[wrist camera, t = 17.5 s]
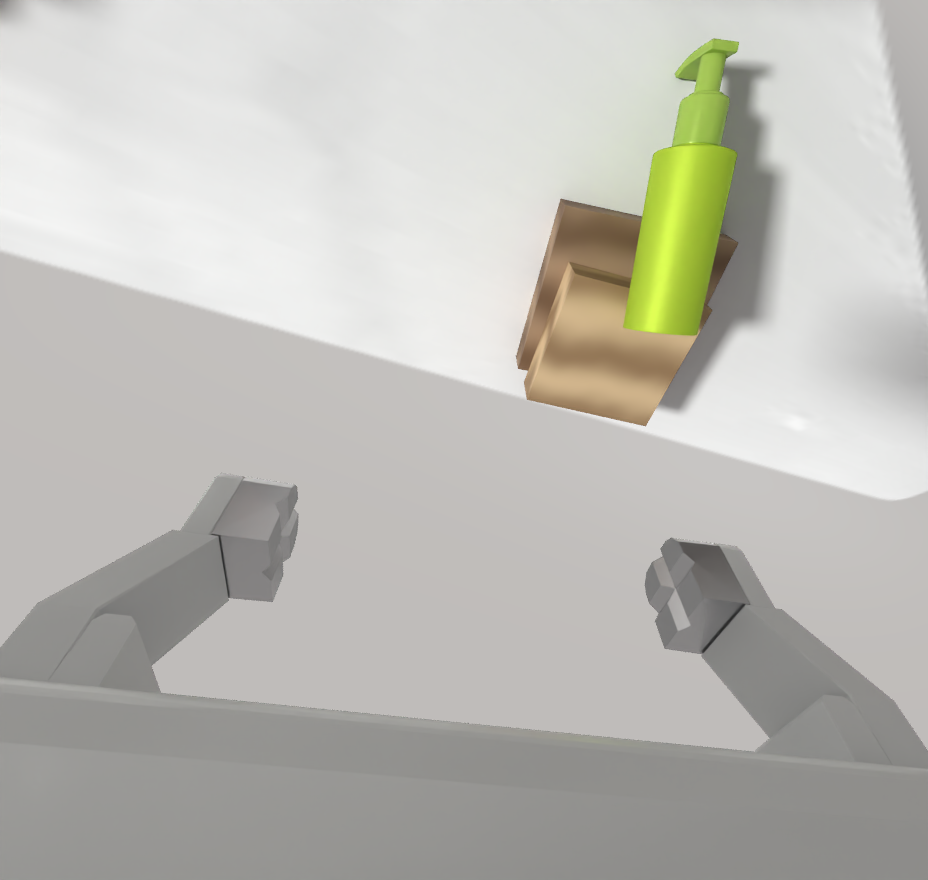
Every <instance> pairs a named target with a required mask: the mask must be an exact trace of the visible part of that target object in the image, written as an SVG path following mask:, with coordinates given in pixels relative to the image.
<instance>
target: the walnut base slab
mask: <svg viewBox="0 0 928 880" xmlns="http://www.w3.org/2000/svg"><path fill="white" fill-rule="evenodd" d="M641 221H642V216H637V215H632V214H628V213H623V212H619V211H614V210H610V209H605V208H600V207H596V206H591V205H587V204H582V203H577V202H573V201H568V200H564V199H561V200H560V203H559V207H558V210H557V214H556V217H555V221H554V224H553V228H552V231H551V235H550V238H549V242H548V246H547V249H546V253H545V256H544V260H543V263H542V267H541V270H540V274H539V277H538V281H537V284H536V288H535V292H534V295H533V299H532V302H531V306H530V309H529V313H528V316H527V320H526V323H525V327H524V330H523V334H522V338H521V341H520V345H519V348H518V352H517V355H516V359H517V365H518V369H522V370H529V368H530V365H531V362H532V359H533V357H534V354H535V351H536V349H537V346H538V343H539V341H540V338H541V335H542V332H543V330H544V327H545V324H546V322H547V319H548V316H549V314H550V311H551V308H552V305H553V303H554V300H555V297H556V295H557V292H558V289H559V287H560V284H561V281H562V278H563V276H564V273H565V270H566V268H567V265H568V262H572V263H576V264H580V265H583V266H587V267H591V268H595V269H598V270H602V271H606V272H610V273H613V274H617V275H621V276H625V277H628V278H632V273H633V267H634V261H635V256H636V250H637V244H638V239H639V233H640V227H641ZM737 245H738V242H736V241H735V240H733V239H731V238H730V237H728V236H727V235H724V234H720V235H719V239H718V244H717V248H716V253H715V257H714V262H713V266H712V271H711V275H710V280H709V284H708V289H707V293H706V298H705V302H704V303H705V304H708V302H709V300H710V298H711V296H712V294H713V292H714V290H715V288H716V286H717V284H718V282H719V280H720V278H721V276H722V274H723V272H724V270H725V268H726V266H727V264H728V262H729V260H730V258H731V256H732V255H733V253H734V251H735V249H736V247H737Z"/></svg>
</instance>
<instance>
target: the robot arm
mask: <svg viewBox="0 0 928 880" xmlns="http://www.w3.org/2000/svg"><path fill="white" fill-rule="evenodd" d="M297 499H298V492H297V486H296V485H294V484H288V483H282V482H276V481H270V480H264V479H258V478H252V477H243V476H237V475H231V474H225V473H221V474H219V475H218V476H216V477H215V478H214V480H213V481H212V483H211V484H210V486H209V487H208V489H207V490H206V492H205V494H204V495H203V497H202V498H201V500H200V501H199V503H198V504H197V506H196V508H195V509H194V510H193V512H192V514H191V515H190V517H189V518H188V520H187V521H186V523H185V524H184V526H183V527H182V529H181V530H180V531H177V530H171V531H169V532H168V533H166V534H164V535H162V536H160V537H159V538H157V539H155V540H153V541H151V542H149V543H147V544H146V545H144V546H142V547H140V548H138V549H137V550H134V551H133V552H131V553H129V554H127V555H125V556H123V557H122V558H120V559H118V560H116V561H115V562H112V563H111V564H109V565H107V566H105V567H103V568H101V569H100V570H98V571H96V572H94V573H92V574H90V575H88V576H87V577H85V578H83V579H81V580H79V581H77V582H75V583H74V584H72V585H70V586H68V587H66V588H65V589H63V590H61V591H59V592H57V593H55V594H53V595H52V596H50V597H48V598H46V599H44V600H42V601H40V602H39V603H37V604H36V606H35V607H34V608H33V609H32V610H31V612H30V613H29V614H28V615H27V616H26V618H25V619H24V620H23V621H22V622H21V624H20V625H19V626H18V627H17V628H16V630H15V631H14V632H13V633H12V634H11V636H10V637H9V638H8V639H7V640H6V642H5V643H4V644H3V645H2V646H1V647H0V880H928V750H927V749H926V747H925V746H924V745H923V743H922V741H921V740H920V738H919V737H918V735H917V734H916V733H915V731H914V730H913V728H912V727H911V725H910V724H909V722H908V721H907V719H906V718H905V716H904V715H903V713H902V712H901V710H900V709H899V708H898V706H897V705H896V703H895V702H894V700H892V699H891V698H890V697H889V696H887V695H886V694H885V693H884V692H883V691H881V690H880V689H879V688H878V687H876V686H875V685H874V684H873V683H871V682H870V681H869V680H868V679H867V678H865V677H864V676H863V675H862V674H860V673H859V672H858V671H857V670H856V669H854V668H853V667H852V666H850V665H849V664H848V663H847V662H846V661H845V660H843V659H842V658H841V657H840V656H838V655H837V654H836V653H835V652H834V651H832V650H831V649H830V648H829V647H827V646H826V645H825V644H824V643H822V642H821V641H820V640H819V639H818V638H816V637H815V636H814V635H813V634H811V633H810V632H809V631H808V630H807V629H805V628H804V627H803V626H802V625H800V624H799V623H798V622H797V621H796V620H794V619H793V618H792V617H791V616H789V615H788V614H787V613H786V612H785V611H783V610H782V609H776V608H775V607H774V605H773V604H772V602H771V600H770V598H769V597H768V595H767V593H766V592H765V590H764V588H763V586H762V585H761V583H760V581H759V579H758V578H757V576H756V574H755V572H754V571H753V569H752V567H751V566H750V564H749V562H748V561H747V559H746V557H745V555H744V553H743V552H742V551H741V550H740V549H739V548H738V547H737V546H731V545H723V544H715V543H714V544H712V543H707V542H699V541H691V540H684V539H677V538H670V539H669V540H667V541H665V543H664V544H663V546H662V547H661V552H662V555H663V557H661V558H659V559H657V560H655V561H653V562H652V563H651V565H650V567H649V569H648V571H647V573H646V580H645V588H646V595H647V598H648V601H649V603H650V605H651V606H652V607H653V608H654V609H655V610H656V611H657V612H658V613H659V614H658V616H657V618H656V620H655V622H656V625H657V628H658V631H659V633H660V636H661V639H662V642H663V645H664V648H665V649H671V650H677V651H684V652H691V653H697V654H702V658H703V659H704V660H705V661H706V662H707V664H708V665H709V666H710V667H711V668H712V669H713V671H714V672H715V673H716V674H717V676H718V677H719V678H720V679H721V680H722V681H723V683H724V684H725V685H726V686H727V688H728V689H729V690H730V691H731V692H732V694H733V695H734V696H735V697H736V698H737V699H738V701H739V702H740V703H741V704H742V705H743V707H744V708H745V709H746V710H747V711H748V712H749V714H750V715H751V716H752V718H753V719H754V720H755V721H756V722H757V723H758V724H759V726H760V727H761V728H762V729H763V731H764V732H765V733H766V734H767V735H768V737H769V738H770V739H768V741H766V742H765V743H763V744H762V745H761V746H760V747H759V748H757V749H756V751H755V752H751V751H741V750H732V749H721V748H711V747H701V746H691V745H681V744H671V743H661V742H650V741H641V740H630V739H620V738H610V737H601V736H590V735H581V734H571V733H560V732H550V731H541V730H530V729H520V728H509V727H500V726H490V725H479V724H469V723H459V722H448V721H439V720H428V719H418V718H408V717H397V716H388V715H378V714H368V713H358V712H348V711H338V710H327V709H317V708H306V707H297V706H287V705H276V704H267V703H257V702H246V701H237V700H227V699H216V698H205V697H196V696H186V695H176V694H166V693H161V692H160V689H159V686H158V683H157V681H156V678H155V675H154V672H153V669H152V665H153V664H154V663H155V662H156V661H158V660H159V659H160V658H161V657H162V656H164V655H165V654H166V653H167V652H168V651H170V650H171V649H172V648H173V647H174V646H175V645H177V644H178V643H179V642H180V641H181V640H183V639H184V638H185V637H186V636H187V635H188V634H190V633H191V632H192V631H193V630H194V629H196V628H197V627H198V626H199V625H200V624H202V623H203V622H204V621H205V620H206V619H207V618H209V617H210V616H211V615H212V614H213V613H215V612H216V611H217V610H218V609H219V608H220V607H221V606H223V605H224V604H225V603H226V602H228V601H229V599H228V598H234V599H245V600H256V601H267V602H273V600H274V597H275V595H276V592H277V590H278V587H279V584H280V582H281V579H282V577H283V562H284V561H285V560H287V559H288V558H290V556H291V553H292V550H293V547H294V544H295V540H296V536H297V530H298V513H297V512H296V511H295V509H294V506H295V504H296V502H297Z"/></svg>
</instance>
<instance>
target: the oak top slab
mask: <svg viewBox="0 0 928 880" xmlns="http://www.w3.org/2000/svg"><path fill="white" fill-rule="evenodd" d="M630 284H631V278H628V277H625V276H621V275H617V274H613V273H610V272H606V271H602V270H598V269H595V268H591V267H587V266H583V265H580V264H576V263H572V262H568V265H567V268H566V270H565V273H564V276H563V278H562V281H561V284H560V287H559V289H558V292H557V295H556V297H555V300H554V303H553V305H552V308H551V311H550V314H549V316H548V319H547V322H546V324H545V327H544V330H543V332H542V335H541V338H540V341H539V343H538V346H537V349H536V351H535V354H534V357H533V359H532V362H531V365H530V368H529V370H528V373H527V375H526V378H525V381H524V385H525V391H526V397H527V400H531V401H536V402H540V403H545V404H549V405H554V406H558V407H562V408H567V409H571V410H576V411H580V412H585V413H589V414H594V415H598V416H602V417H607V418H611V419H616V420H620V421H625V422H629V423H634V424H638V425H643V426H646V425H647V423H648V421H649V420H650V418H651V416H652V414H653V413H654V411H655V409H656V407H657V406H658V404H659V402H660V400H661V399H662V397H663V395H664V393H665V392H666V390H667V388H668V387H669V385H670V383H671V381H672V380H673V378H674V376H675V374H676V373H677V371H678V369H679V367H680V366H681V364H682V362H683V360H684V359H685V357H686V355H687V353H688V352H689V350H690V348H691V347H692V345H693V343H694V341H695V340H696V338H697V336H698V334H699V333H700V331H701V329H702V327H703V326H704V324H705V322H706V320H707V319H708V317H709V315H710V314H711V312H712V309H711V308H710V307H709V306H708V305H707V304H705V303H704V307H703V311H702V316H701V320H700V325H699V329H698V334H697V335H695V336H685V335H670V334H660V333H651V332H643V331H636V330H631V329H626V328H623V324H624V318H625V313H626V307H627V301H628V295H629V290H630Z"/></svg>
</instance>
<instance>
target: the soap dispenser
mask: <svg viewBox="0 0 928 880" xmlns="http://www.w3.org/2000/svg"><path fill="white" fill-rule="evenodd" d="M738 45H739V42H735V41H728V40H721V39H712V40H711V41H709V42H707V43H706V44H704V45H703V46H701V47H700V48H698V49H697V50H696V51H694V52H693V53H692V54H691V55H690V56H689V57H688V58H687V59H686V60H685V61H684V62H683V64H682V65H681V66H680V67H679V69H678V70H677V71H676V73H675V76H676V78H682V79H689V80H696V85H695V91H694V93H692V94H690V95H689V96H688V97H686V98H684V99H683V100H682V101H681V102H680V106H679V111H678V117H677V122H676V127H675V133H674V138H673V144H672V147H669V148H665V149H662V150H659V151H657V152H655V153H654V155H653V159H652V164H651V170H650V176H649V182H648V187H647V193H646V199H645V204H644V210H643V216H642V221H641V227H640V233H639V239H638V244H637V250H636V256H635V261H634V267H633V273H632V278H631V284H630V290H629V295H628V301H627V307H626V313H625V318H624V324H623V328H626V329H631V330H636V331H643V332H651V333H660V334H670V335H685V336H695V335H697V334H698V329H699V325H700V320H701V316H702V311H703V307H704V302H705V298H706V293H707V289H708V284H709V280H710V275H711V271H712V266H713V262H714V257H715V253H716V248H717V244H718V239H719V235H720V230H721V226H722V221H723V217H724V212H725V208H726V203H727V199H728V194H729V190H730V185H731V181H732V176H733V172H734V167H735V163H736V158H737V153H736V152H735V151H734V150H732V149H729V148H726V147H722V146H721V141H722V136H723V132H724V127H725V122H726V118H727V113H728V108H729V103H730V99H729V98H728V97H727V96H726V95H724V94H723V93H722V92H719V90H720V86H721V81H722V76H723V71H724V66H725V61H726V58H728V57H729V56H731V55H733V54H734V53H736V52H737V50H738Z"/></svg>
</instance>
